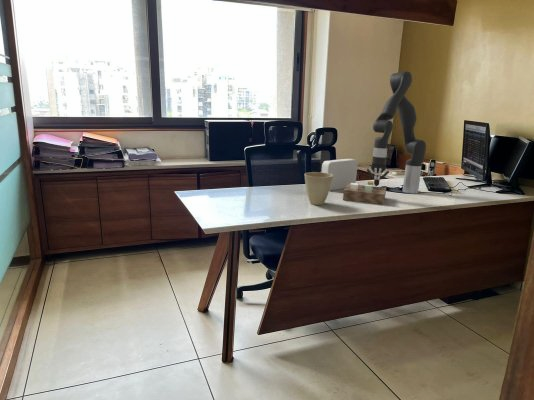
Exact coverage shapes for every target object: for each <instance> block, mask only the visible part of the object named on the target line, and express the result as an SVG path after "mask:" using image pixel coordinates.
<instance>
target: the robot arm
mask: <svg viewBox="0 0 534 400" xmlns="http://www.w3.org/2000/svg"><path fill="white" fill-rule="evenodd" d="M412 82H413V76H412V73H411V72H410V71H408V70H407V71H405V70H403V71H400V72H395V73H391V75H390V77H389V84H390V88H391V91H392V95H391V96H390V97H389V98H388V99H387V101H386V102H385V103H384V106H383V108H382V111H381V113H380V114H379V115H378V117H377V118H376V119H375V120H374V123H373V125H372V129H373V131H374V132H375V133H379V134H380V133H381V134H382V136H377V137H375V140H374V146H373V151H372V159H371V160H372V161H371V165H370V167H369V168H367V169H366V171H367V173H368V175H369V176H370V178H371V179H374V180H373V181H374V183H373V186H374V187H379V185H380V180H384V178H385V177H386V176H387V175H388V174H389V173H390V170H388V169H387V166H386V165H387V164H386V163H387V157H388V144H389V139H390V137H391V133H392V131H393V129H394V123H393V122H392V121H391V120H393V119H394V118H395V114H396V112H397V111H398V117H399V120H400V125H401V129H402V132H403V133H402V134H403V140H404V142H403V143H404V148H405V150H406V152H407V153H408V154H411V155H412V156H411V158H409V159H407V160H406V161H405V169H404V170H405V171H404V177H403V185H402V192H403V193H406V194H415V195H416V194H417V195H418V194H419V188H420V181H421V173H422V172H421V171H422V167H423V166H422V165H423V163H424V160H425V157H426V156H425V155H426V151H427V145H426V144H427V143H426V141H425V140H422V139H418V138H416V135H415V129H414V128H415V126H416V123H417V120H418V119H417V114H416V110H415V109H416V108H415V107H414V105H413V104H412V102H411V101H410V100H409V99H408V98H407V97H406V96H405V95H406V94H407V92H408V90H409V88H410V87H411V84H412ZM373 174H374V175H373Z"/></svg>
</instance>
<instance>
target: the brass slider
mask: <svg viewBox="0 0 534 400" xmlns="http://www.w3.org/2000/svg"><path fill="white" fill-rule="evenodd" d="M367 185H373V186H374V180H373V181H372V180H368V181H367Z"/></svg>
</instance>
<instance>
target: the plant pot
mask: <svg viewBox="0 0 534 400" xmlns="http://www.w3.org/2000/svg"><path fill="white" fill-rule="evenodd" d="M332 177H333V175H332V174H329V173H322V171H320V172H318V171H312V172H311V171H310V172H305V173H304V182H305V183H304V184H305V189H306V193H307V197H308V201H309V203H310V205H313V206H323V205H324V204H325V202H326V200H327V197H328V196H329V195H328V194H329V192H330V191H329V189H330V186H331V182H332Z"/></svg>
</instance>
